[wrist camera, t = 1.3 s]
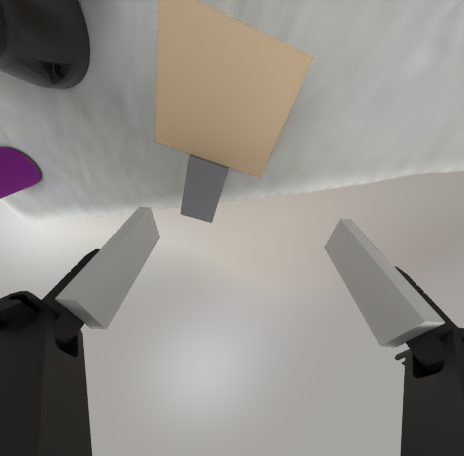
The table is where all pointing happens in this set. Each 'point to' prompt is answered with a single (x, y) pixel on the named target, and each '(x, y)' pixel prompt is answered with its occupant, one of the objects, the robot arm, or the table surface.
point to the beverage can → (16, 172)
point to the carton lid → (220, 96)
